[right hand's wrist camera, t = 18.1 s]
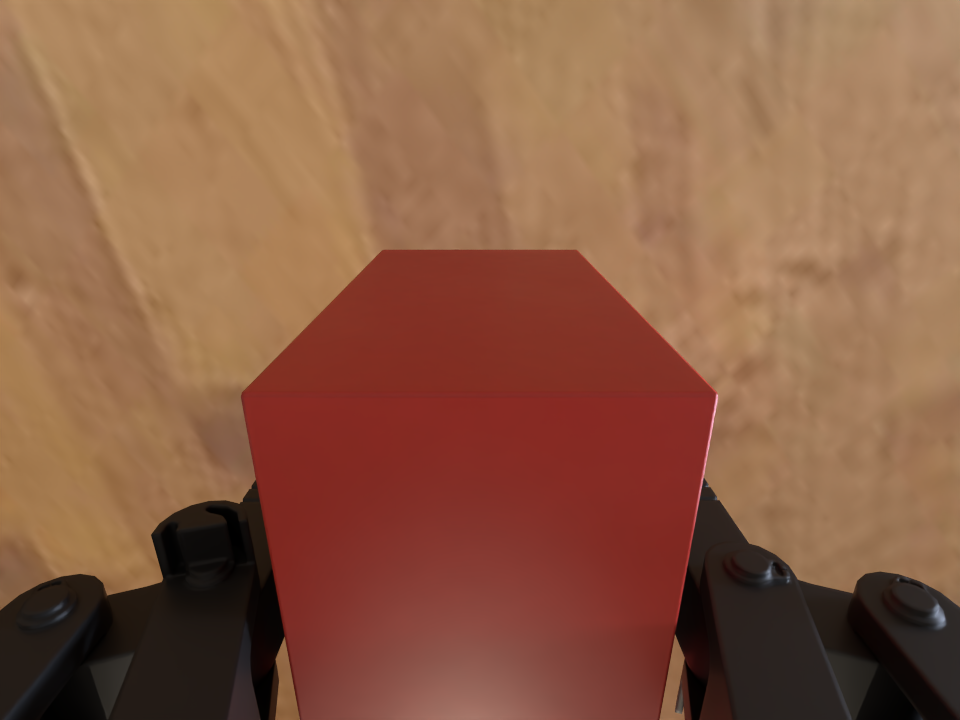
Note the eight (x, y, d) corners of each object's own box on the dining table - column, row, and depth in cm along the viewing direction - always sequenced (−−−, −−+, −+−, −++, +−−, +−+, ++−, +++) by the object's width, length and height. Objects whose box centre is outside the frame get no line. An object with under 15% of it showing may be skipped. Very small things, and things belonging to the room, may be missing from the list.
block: (577, 249, 14) (721, 393, 6) (558, 528, 17) (632, 876, 9) (382, 249, 14) (237, 393, 6) (400, 527, 17) (326, 877, 9)
